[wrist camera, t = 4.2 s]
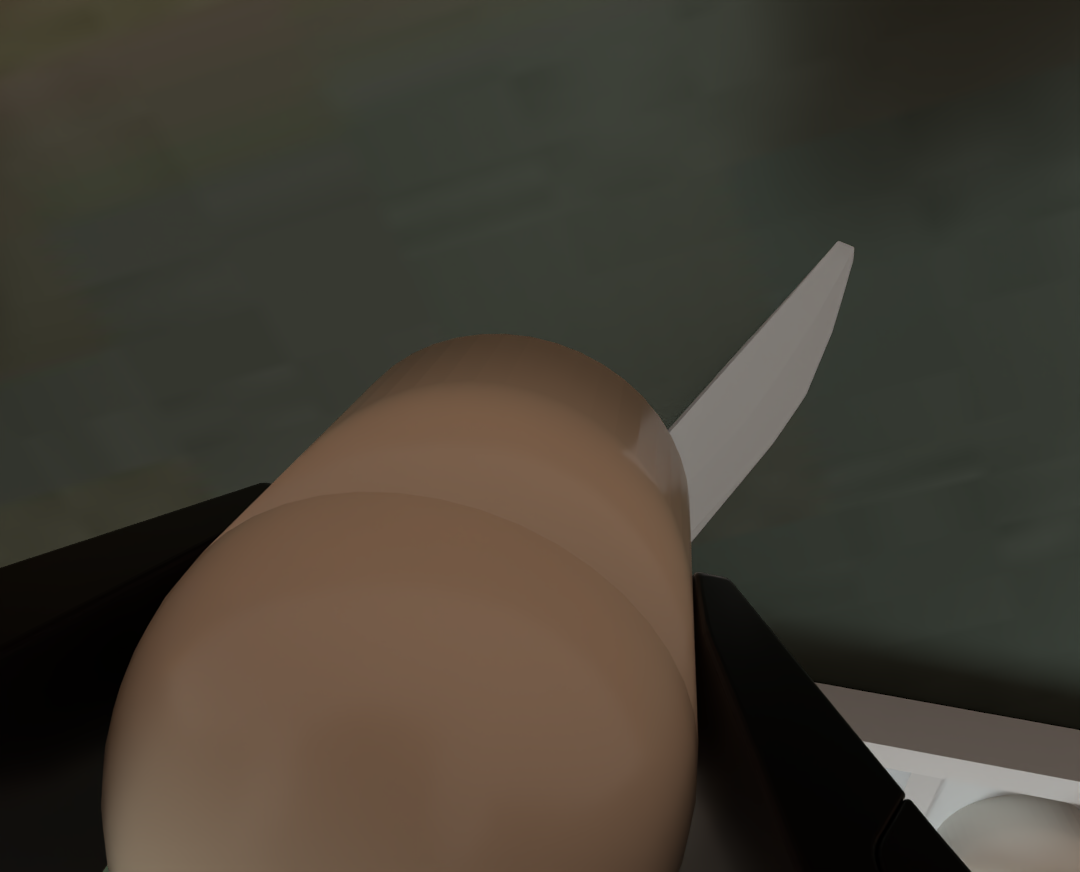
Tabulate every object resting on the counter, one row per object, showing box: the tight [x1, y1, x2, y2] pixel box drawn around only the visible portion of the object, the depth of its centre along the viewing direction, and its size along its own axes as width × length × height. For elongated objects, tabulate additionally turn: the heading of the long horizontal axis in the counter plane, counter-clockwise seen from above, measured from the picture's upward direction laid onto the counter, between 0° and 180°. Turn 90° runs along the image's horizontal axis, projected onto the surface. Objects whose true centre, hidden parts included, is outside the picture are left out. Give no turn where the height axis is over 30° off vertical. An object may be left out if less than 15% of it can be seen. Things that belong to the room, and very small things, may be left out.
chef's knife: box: [668, 241, 854, 542], centre depth 21 cm, size 19×1×3 cm
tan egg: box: [101, 334, 698, 872], centre depth 7 cm, size 5×5×6 cm
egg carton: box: [814, 682, 1080, 831], centre depth 24 cm, size 9×26×2 cm, turn 85°
